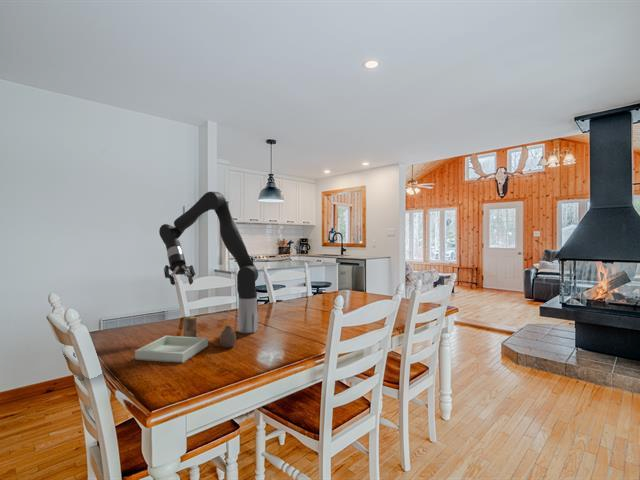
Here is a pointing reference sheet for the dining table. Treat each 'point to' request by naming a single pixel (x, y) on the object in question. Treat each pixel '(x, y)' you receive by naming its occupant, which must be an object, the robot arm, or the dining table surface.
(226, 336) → the grey rounded egg shape
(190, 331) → the walnut block
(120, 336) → the dining table surface
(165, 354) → the sage tray
